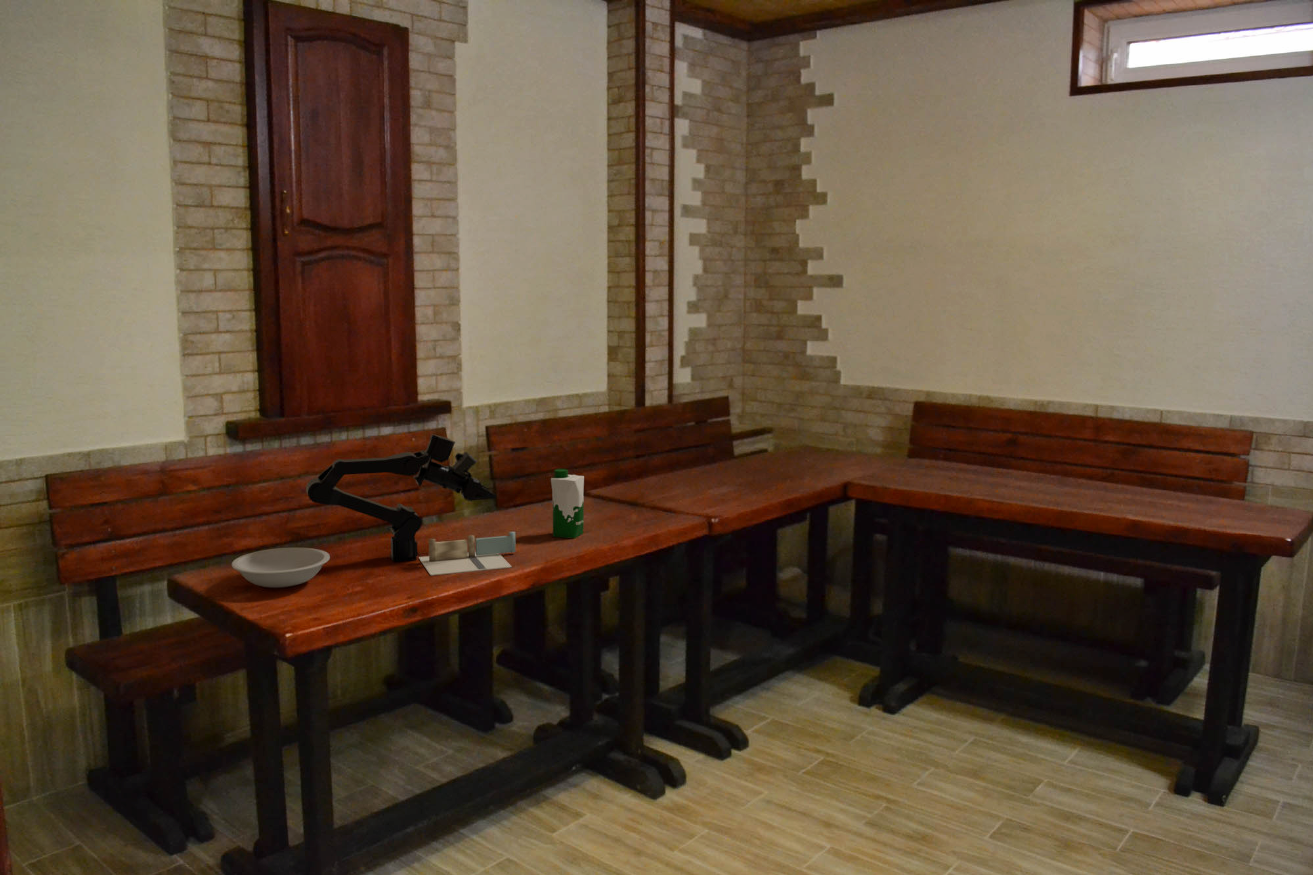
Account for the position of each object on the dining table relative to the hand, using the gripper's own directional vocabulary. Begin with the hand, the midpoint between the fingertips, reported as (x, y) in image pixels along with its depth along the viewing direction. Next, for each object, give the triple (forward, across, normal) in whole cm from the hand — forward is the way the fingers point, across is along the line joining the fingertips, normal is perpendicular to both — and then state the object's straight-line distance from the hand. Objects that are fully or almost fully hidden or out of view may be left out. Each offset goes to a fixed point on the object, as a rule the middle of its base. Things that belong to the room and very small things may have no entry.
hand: (491, 493), depth 318 cm
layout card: (-3, -10, +20) cm, 22 cm away
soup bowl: (-47, -13, +39) cm, 62 cm away
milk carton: (+30, +9, +5) cm, 32 cm away
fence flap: (+6, -6, +15) cm, 17 cm away
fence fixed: (-5, -6, +20) cm, 22 cm away
